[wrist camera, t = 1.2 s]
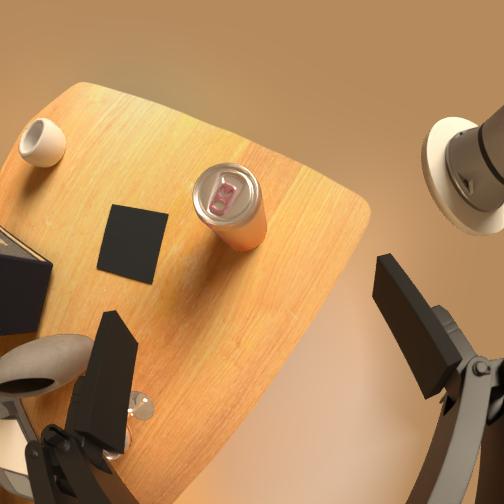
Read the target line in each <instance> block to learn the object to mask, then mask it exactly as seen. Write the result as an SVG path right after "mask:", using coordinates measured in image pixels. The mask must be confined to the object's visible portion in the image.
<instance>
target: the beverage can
mask: <svg viewBox="0 0 504 504" xmlns="http://www.w3.org/2000/svg"><path fill="white" fill-rule="evenodd" d="M193 204H194V207H195V210H196V213H197V215H198V217H199V218H200V219H201V221H202V222H203V223H204V224H206V225H207V226H208V227H209V228H210V229H211V230H212V231H213V232H215V233H216V234H217V235H218V236H219V237H220V238H221V239H222V240H224V241H225V242H226V243H227V244H228V245H229V246H230V247H232V248H234V249H237V250H241V251H246V250H251V249H253V248H255V247H257V246H258V245H259V244H260V243H261V242H262V241H263V240H264V238H265V236H266V232H267V223H266V217H265V211H264V205H263V199H262V193H261V188H260V185H259V183H258V181H257V179H256V178H255V177H254V176H253V175H252V173H251V172H250V171H249V170H247V169H246V168H245V167H243V166H241V165H238V164H234V163H221V164H217V165H214V166H212V167H210V168H209V169H207V170H206V171H204V172H203V173H202V174H201V176H200V177H199V178H198V180H197V181H196V183H195V186H194V189H193Z"/></svg>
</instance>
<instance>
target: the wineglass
mask: <svg viewBox="0 0 504 504" xmlns="http://www.w3.org/2000/svg"><path fill="white" fill-rule="evenodd" d="M128 411H129V412H128V417H129V416H130V415H132V416H134V417H135V418H137V419H140V420H148V419H150V418H151V417H152V416H153V413H154V407H153V404H152V402H151V400H150V399H149V398H148V397H147V396H146V395H145V394H143V393H141V392H137V391H134V392H131V394H130V401H129V409H128ZM131 441H132V431H131V428H130V425H129V424H128V422H127V427H126V437H125V449H124V452H125V451H126V450H127V449H128V448H129V447H130V444H131ZM103 454H104V455H105V457H106V458H107V459H108V460H115V459H117V458H118V457H119V456H120V455H121V454H115V453H109V452H108V451H106V450H104V449H103Z"/></svg>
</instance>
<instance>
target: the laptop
mask: <svg viewBox="0 0 504 504" xmlns="http://www.w3.org/2000/svg"><path fill="white" fill-rule="evenodd" d="M31 440H36V441H38V440H37V438H36V436H35V434H34V431H33V429H32V427H31V425H30V423H29V421H28V419H27V416H26V414H25V412H24V409H23V407H22V405H21V402H20V400H19V398H6V397H0V485H1V486H2V487H3V488H4V489H5V490H6V491H7V492H10V493H12V494H15V495H17V496H20V497H22V498H25V499H28V500H31V501H34V499H33V495H32V490H31V486H30V482H29V477H28V472H27V466H26V460H25V447H26V445H27V443H28V442H30V441H31ZM54 478H55V476H54ZM55 481H56V478H55Z"/></svg>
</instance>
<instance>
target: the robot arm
mask: <svg viewBox="0 0 504 504" xmlns="http://www.w3.org/2000/svg"><path fill="white" fill-rule="evenodd" d="M445 162H446V168H447V171H448V175H449V177H450V180H451V182H452V184H453V186H454V188H455V189H456V191H457V192H458V194H459V195H460V197H461V198H462V199H463V200H464V201H465V202H466V203H467V204H468V205H469V206H471V207H472V208H474V209H475V210H478V211H480V212H491V211H494V210H496V209H498V208H500V207H501V206H502V205H503V204H504V105H503V106H502V107H501V108H500V109H499V110H498V111H497V112H496V113H494V114H493V115H492V116H491V117H490V118H489V119H488V120H486V122H484V123H483V124H482V125H481V126H478V127H474V128H471V129H468V130H463V131H460V132H458V133H457V134H455V135H454V136H453V137H452V138H451V139H450V140H449V142H448V144H447V147H446V151H445ZM372 297H373V299H374V301H375V303H376V304H377V306H378V308H379V310H380V312H381V313H382V315H383V317H384V319H385V321H386V322H387V324H388V326H389V328H390V329H391V331H392V333H393V335H394V337H395V339H396V341H397V343H398V345H399V347H400V349H401V351H402V353H403V354H404V356H405V358H406V360H407V362H408V364H409V366H410V368H411V370H412V372H413V374H414V377H415V379H416V381H417V382H418V385H419V387H420V389H421V391H422V393H423V395H424V398H425V400H426V399H428V398H430V397H432V396H434V395H436V394H438V393H440V392H441V390H442V389H443V388H444V387H445V389H446V391H447V392H446V393H445V395H444V396H443V397H442V398H441V400H440V402H439V403H442V402H443V401H444V402H443V406H442V409H441V413H440V417H439V420H438V423H437V426H436V430H435V433H434V436H433V439H432V442H431V445H430V448H429V450H428V453H427V456H426V458H425V461H424V464H423V466H422V469H421V471H420V473H419V476H418V478H417V480H416V483H415V485H414V487H413V489H412V491H411V494H410V496H409V498H408V500H407V502H406V504H461V502H462V500H463V497H464V495H465V492H466V490H467V486H468V484H469V481H470V478H471V475H472V472H473V469H474V466H475V463H476V459H477V456H478V451H479V448H480V444H481V457H480V470H479V478H478V486H477V493H476V499H475V504H504V358H501V359H495V360H488V359H487V358H485V357H483V356H478V355H477V354H476V353H475V351H474V350H473V348H472V347H471V345H470V343H469V342H468V341H467V339H466V337H465V336H464V335H463V333H462V331H461V330H460V329H459V328H458V325H457V324H456V322H454V319H453V318H452V316H451V315H450V313H449V312H448V311H447V310H445V309H444V308H443V307H441V306H440V305H437V306H435V307H432V308H430V306H429V305H428V303H427V302H426V301H425V299H424V298H423V296H422V295H421V293H420V292H419V291H418V289H417V288H416V286H415V285H414V284H413V283H412V281H411V280H410V278H409V277H408V276H407V274H406V273H405V272H404V270H403V269H402V268H401V266H400V265H399V264H398V262H397V261H396V260H395V259H394V257H393V256H392V255H391V253H389V254H385V255H381V256H377V263H376V272H375V280H374V288H373V295H372ZM137 349H138V342H137V341H136V340H135V338H134V337H133V335H132V334H131V332H130V331H129V329H128V328H127V327H126V325H125V324H124V322H123V321H122V319H121V318H120V316H119V314H118V313H117V311H116V310H114V311H108V312H104V313H103V316H102V319H101V322H100V325H99V328H98V331H97V335H96V338H95V341H94V345H93V348H92V352H91V355H90V359H89V363H88V366H87V370H86V374H85V376H79V378H78V379H77V381H76V383H75V384H74V388H73V392H72V396H71V401H70V402H71V403H70V405H69V409H68V414H67V419H66V424H65V429H64V430H63V429H61V428H60V427H58V426H57V425H55V424H50V425H48V426H46V427H45V428H44V429H43V431H42V434H41V443H40V442H38V441H36V440H31V441H30V442H28V443H27V445H26V447H25V460H26V466H27V472H28V477H29V482H30V486H31V490H32V495H33V499H34V502H35V504H139V502H138V501H137V500H136V499H135V497H134V496H133V495H132V494H131V492H130V491H129V490H128V488H127V487H126V485H125V484H124V483H123V481H122V480H121V479H120V477H119V476H118V474H117V473H116V471H115V470H114V468H113V467H112V465H111V464H110V462H109V461H108V459H107V458H106V457H105V455H104V454H103V449H104V450H106V451H108V452H109V453H115V454H124V449H125V437H126V427H127V418H128V409H129V401H130V394H131V386H132V380H133V373H134V367H135V361H136V355H137ZM54 476H55V478H56V481H55V478H54Z"/></svg>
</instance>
